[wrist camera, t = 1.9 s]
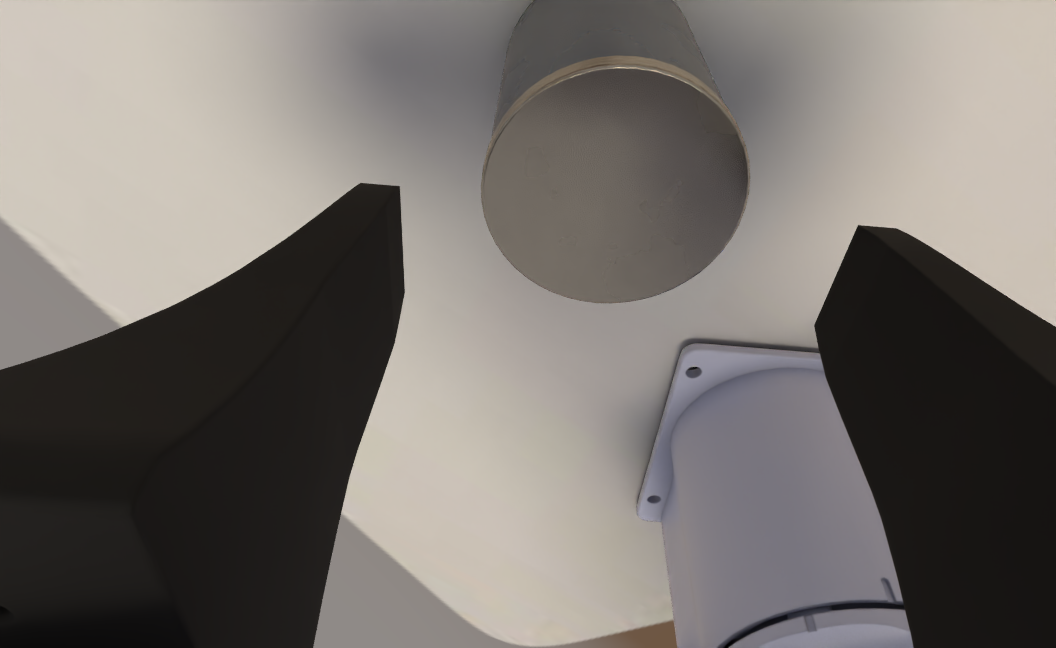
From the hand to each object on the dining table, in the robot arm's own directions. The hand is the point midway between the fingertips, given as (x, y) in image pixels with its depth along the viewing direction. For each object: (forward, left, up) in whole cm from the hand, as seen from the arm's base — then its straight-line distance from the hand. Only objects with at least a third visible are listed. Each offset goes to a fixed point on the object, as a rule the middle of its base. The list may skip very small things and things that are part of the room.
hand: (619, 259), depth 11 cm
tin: (0, 0, -8) cm, 9 cm away
